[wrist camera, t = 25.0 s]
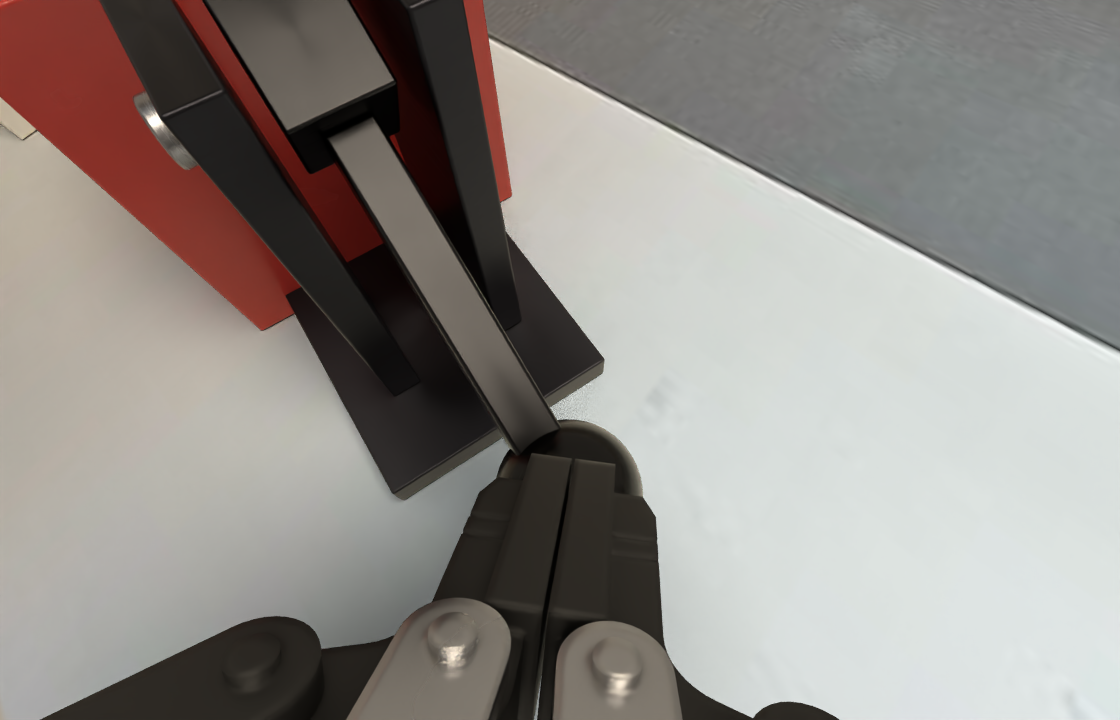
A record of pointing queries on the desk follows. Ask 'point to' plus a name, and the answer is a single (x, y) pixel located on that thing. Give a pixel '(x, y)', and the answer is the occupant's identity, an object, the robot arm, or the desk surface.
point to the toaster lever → (398, 206)
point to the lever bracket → (374, 277)
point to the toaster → (150, 172)
